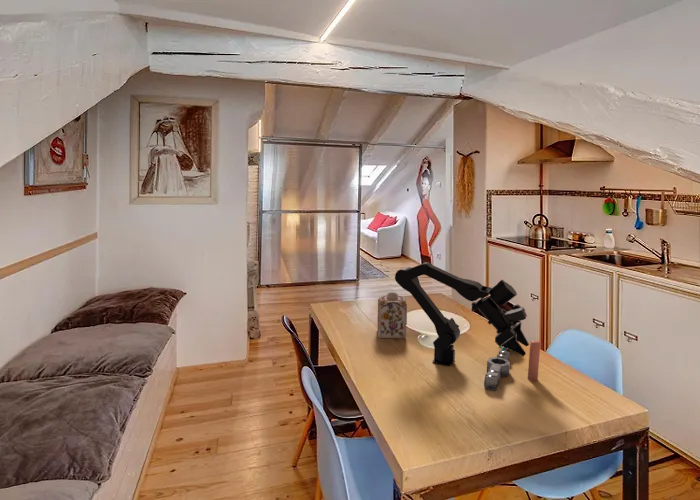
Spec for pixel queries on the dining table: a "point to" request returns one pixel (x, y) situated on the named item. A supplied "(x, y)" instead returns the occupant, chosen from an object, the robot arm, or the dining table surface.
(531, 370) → the pin
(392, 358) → the dining table surface
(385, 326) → the decorative jar
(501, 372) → the grey jointed bar
